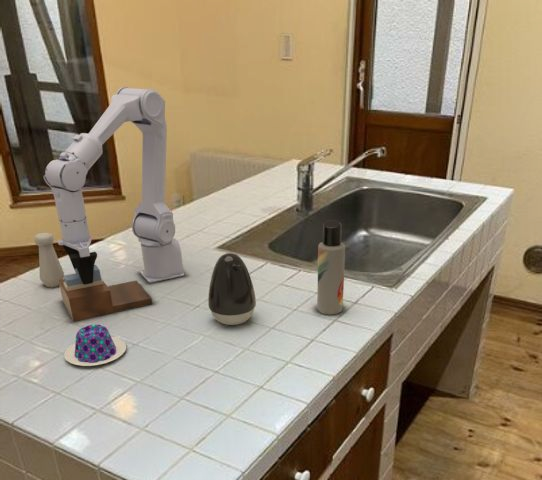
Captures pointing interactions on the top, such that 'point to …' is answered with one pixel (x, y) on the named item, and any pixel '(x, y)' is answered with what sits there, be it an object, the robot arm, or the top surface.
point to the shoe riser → (103, 299)
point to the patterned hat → (94, 347)
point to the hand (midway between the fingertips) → (84, 277)
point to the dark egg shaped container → (231, 291)
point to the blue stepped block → (75, 281)
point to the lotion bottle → (331, 269)
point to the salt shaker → (48, 261)
